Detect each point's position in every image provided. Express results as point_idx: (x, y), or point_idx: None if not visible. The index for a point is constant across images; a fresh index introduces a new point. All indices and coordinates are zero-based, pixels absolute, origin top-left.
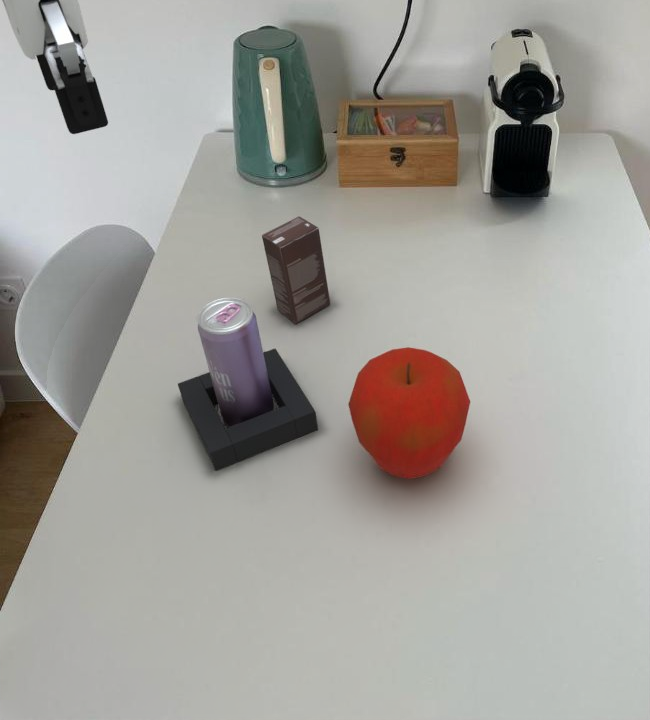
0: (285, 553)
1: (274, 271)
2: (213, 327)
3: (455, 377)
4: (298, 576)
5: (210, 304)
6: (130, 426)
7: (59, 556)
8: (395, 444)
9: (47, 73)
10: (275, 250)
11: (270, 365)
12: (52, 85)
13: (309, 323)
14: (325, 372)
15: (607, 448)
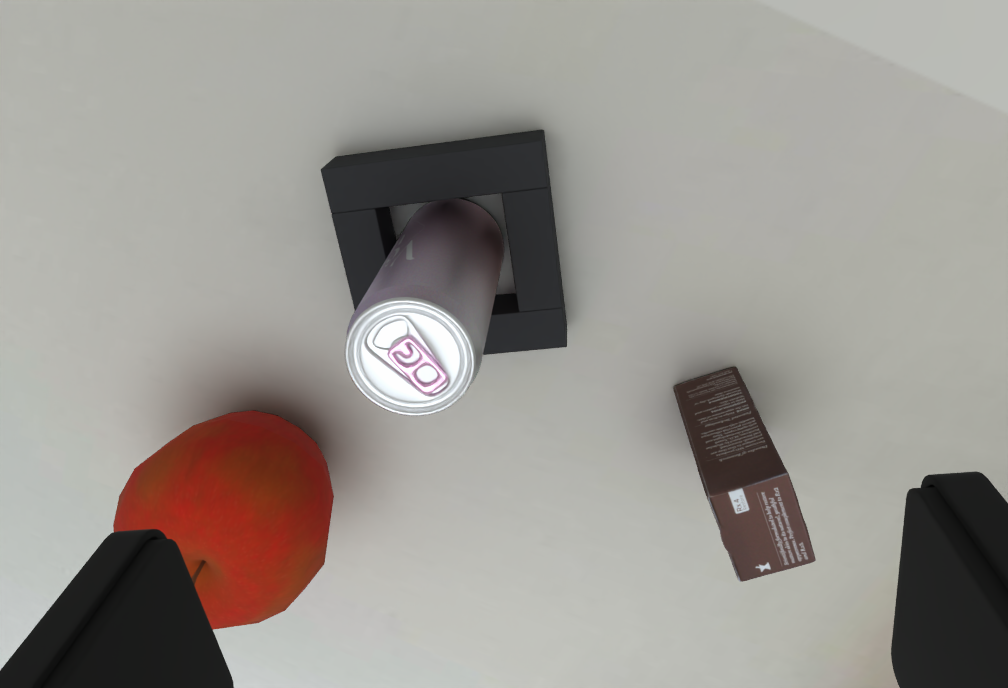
0: (135, 227)
1: (739, 430)
2: (371, 326)
3: None
4: (90, 235)
5: (463, 337)
6: (514, 6)
7: None
8: (127, 485)
9: (967, 591)
10: (726, 478)
11: (519, 326)
12: (921, 522)
13: (665, 407)
14: (515, 393)
15: (230, 652)
